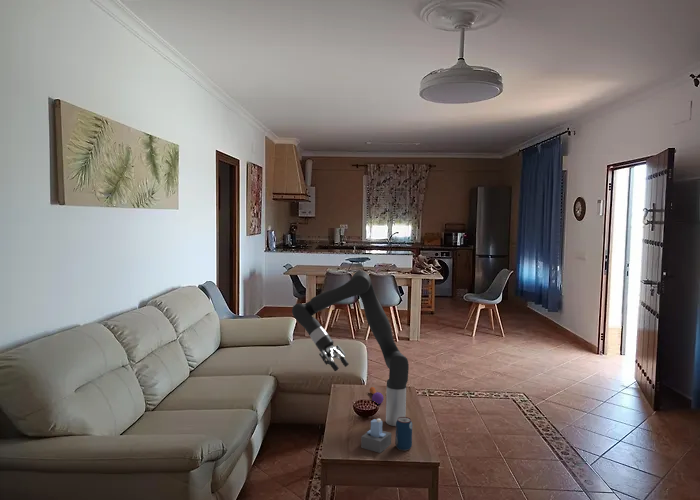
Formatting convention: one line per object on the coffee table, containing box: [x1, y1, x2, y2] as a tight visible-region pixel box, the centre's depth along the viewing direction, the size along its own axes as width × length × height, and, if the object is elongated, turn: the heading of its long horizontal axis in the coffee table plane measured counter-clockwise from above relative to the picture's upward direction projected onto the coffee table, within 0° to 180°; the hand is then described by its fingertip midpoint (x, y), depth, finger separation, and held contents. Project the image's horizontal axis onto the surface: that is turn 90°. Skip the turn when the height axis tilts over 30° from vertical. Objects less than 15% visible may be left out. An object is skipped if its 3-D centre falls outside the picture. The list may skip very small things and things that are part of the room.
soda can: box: [394, 416, 413, 451], centre depth 205 cm, size 7×7×12 cm
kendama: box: [369, 386, 384, 405], centre depth 263 cm, size 6×6×20 cm
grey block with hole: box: [360, 430, 392, 454], centre depth 206 cm, size 10×9×5 cm
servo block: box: [366, 418, 386, 438], centre depth 206 cm, size 8×3×12 cm, turn 59°
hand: (342, 367), depth 220 cm, fingers open, 8 cm apart
